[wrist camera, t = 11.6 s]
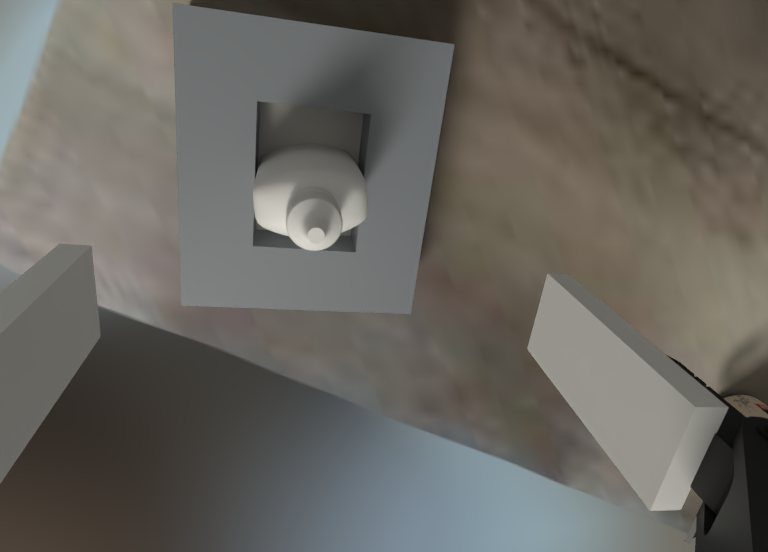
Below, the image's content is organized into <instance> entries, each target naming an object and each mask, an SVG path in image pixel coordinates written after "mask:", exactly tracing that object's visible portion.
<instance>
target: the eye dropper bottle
mask: <svg viewBox="0 0 768 552" xmlns="http://www.w3.org/2000/svg"><path fill="white" fill-rule="evenodd" d="M253 203H254V212H255V218H256V220H257V222H258V224H259V225H261V226H262V227H263V228H266V229H268V230H270V231H273V232H275V233H279V234H282V235H286V236H290V238H291V240H293V242H295V244H297V246H300V247H302V249H304V248H305V250H306V249H307V250H310V251H312V250H313V251H315V250H316V251H318V250H319V251H320V250H323V249H326V248H328V247H330V246H331V245H333V243H335V241H337V239H339V238H338V237H339V236H340V234H341V233H342V232H344V231H347V230H349V229H351V228H353V227H355V226H357V225H359V224H360V223H362V222H363V221H364V220H365V219H366V217H367V214H368V188H367V185H366V182H365V179H364V177H363V175H362V173H361V171H360V169H359V168H358V166H357V164H356V162H355V160H354V159H353V157H352V156H351V155H350V154H349V153H347V152H345V151H343V150H340V149H337V148H334V147H330V146H326V145H320V144H297V145H291V146H286V147H283V148H280V149H277V150H274V151H272V152H270V153H268V154H266V155H264V156H263V157H262V159H261V160H260V163H259V167H258V171H257V174H256V178H255V182H254V187H253Z"/></svg>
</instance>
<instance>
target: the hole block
mask: <svg viewBox="0 0 768 552" xmlns="http://www.w3.org/2000/svg"><path fill="white" fill-rule="evenodd" d="M173 34H174V69H175V104H176V139H177V173H178V208H179V243H180V277H181V305H186V306H212V307H239V308H265V309H292V310H318V311H345V312H371V313H398V314H411V309H412V303H413V296H414V290H415V284H416V278H417V272H418V266H419V260H420V254H421V247H422V241H423V235H424V229H425V223H426V217H427V211H428V204H429V198H430V192H431V186H432V180H433V174H434V168H435V162H436V155H437V149H438V143H439V137H440V131H441V125H442V119H443V112H444V106H445V100H446V94H447V88H448V82H449V76H450V70H451V63H452V57H453V51H454V45H455V44H450V43H443V42H436V41H429V40H422V39H416V38H409V37H402V36H395V35H388V34H382V33H375V32H368V31H361V30H354V29H347V28H341V27H334V26H327V25H320V24H313V23H307V22H300V21H293V20H286V19H279V18H272V17H266V16H259V15H252V14H245V13H238V12H232V11H225V10H218V9H211V8H204V7H197V6H191V5H184V4H177V3H173ZM297 144H320V145H326V146H330V147H334V148H337V149H340V150H343V151H345V152H347V153H349V154H350V155H351V156H352V157H353V159H354V160H355V162H356V164H357V166H358V168H359V169H360V171H361V173H362V175H363V177H364V179H365V182H366V185H367V188H368V214H367V217H366V219H365V220H364V221H363V222H362V223H360V224H359V225H357V226H355V227H353V228H351V229H349V230H347V231H344V232H342V233H341V234H340V236H339V237H338V238H339V239H337V241H335V243H333V245H331V246H330V247H328V248H326V249H323V250H320V251H319V250H318V251H316V250H315V251H313V250H312V251H310V250H307V249H306V250H305V248H304V249H302V247H300V246H297V244H295V242H293V240H291V238H290V236H286V235H282V234H279V233H275V232H273V231H270V230H268V229H266V228H263V227H262V226H261V225H259V224H258V222H257V220H256V218H255V212H254V203H253V187H254V182H255V178H256V174H257V171H258V167H259V163H260V160H261V159H262V157H263V156H264V155H266V154H268V153H270V152H272V151H274V150H277V149H280V148H283V147H286V146H291V145H297Z"/></svg>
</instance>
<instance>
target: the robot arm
mask: <svg viewBox="0 0 768 552" xmlns="http://www.w3.org/2000/svg"><path fill="white" fill-rule="evenodd" d="M99 338H100V326H99V317H98V306H97V296H96V286H95V276H94V266H93V256H92V246H87V245H71V244H59V245H58V246H56V247H55V248H54V249H53V250H52V251H50V252H49V253H48V254H47V255H46V256H44V257H43V258H42V259H41V260H40V261H38V262H37V263H36V264H35V265H34V266H32V267H31V268H30V269H29V270H28V271H26V272H25V273H24V274H23V275H22V276H20V277H19V278H18V279H17V280H15V281H14V282H13V283H12V284H11V285H9V286H8V287H7V288H6V289H5V290H3V291H2V292H1V293H0V483H1V482H2V480H3V479H4V477H5V476H6V474H7V473H8V471H9V470H10V468H11V467H12V466H13V464H14V463H15V461H16V460H17V458H18V457H19V455H20V454H21V452H22V451H23V449H24V448H25V446H26V445H27V444H28V442H29V441H30V439H31V438H32V436H33V435H34V433H35V432H36V430H37V429H38V427H39V426H40V424H41V423H42V422H43V420H44V419H45V417H46V416H47V414H48V413H49V411H50V410H51V408H52V407H53V405H54V404H55V402H56V401H57V399H58V398H59V397H60V395H61V394H62V392H63V391H64V389H65V388H66V386H67V385H68V383H69V382H70V380H71V379H72V377H73V376H74V374H75V373H76V372H77V370H78V368H79V367H80V366H81V364H82V363H83V361H84V360H85V358H86V357H87V355H88V354H89V352H90V351H91V349H92V348H93V347H94V345H95V344H96V342H97V341H98V339H99ZM527 349H528V351H529V352H530V353H531V355H532V356H533V357H534V359H535V360H536V361H537V363H538V364H539V365H540V367H541V368H542V369H543V371H544V372H545V373H546V374H547V376H548V377H549V378H550V380H551V381H552V382H553V384H554V385H555V386H556V388H557V389H558V390H559V392H560V393H561V394H562V396H563V397H564V398H565V399H566V401H567V402H568V403H569V405H570V406H571V407H572V409H573V410H574V411H575V413H576V414H577V415H578V417H579V418H580V419H581V421H582V422H583V423H584V424H585V426H586V427H587V428H588V430H589V431H590V432H591V434H592V435H593V436H594V438H595V439H596V440H597V442H598V443H599V444H600V446H601V447H602V448H603V449H604V451H605V452H606V453H607V455H608V456H609V457H610V459H611V460H612V461H613V463H614V464H615V465H616V467H617V468H618V469H619V471H620V472H621V473H622V475H623V476H624V477H625V478H626V480H627V481H628V482H629V484H630V485H631V486H632V488H633V489H634V490H635V492H636V493H637V494H638V496H639V497H640V498H641V500H642V501H643V502H644V503H645V505H646V506H647V507H648V509H649V510H650V511H661V510H681V508H682V506H683V504H684V502H685V500H686V498H687V496H688V493H689V491H690V489H691V488H692V489H693V490H694V491H695V492H696V493H697V495H698V496H699V497H700V498H701V499H702V500H703V503H702V505H701V507H700V509H699V511H698V513H697V515H696V517H695V519H694V521H693V523H692V525H691V528H690V530H689V532H688V534H687V536H686V539H685V540H684V541H686V542H688V543H690V542H691V540H692V539H693V538H694V537H696V545H695V552H768V419H767V418H763V417H755V416H750V417H745V416H744V415H743V414H742V413H740V412H739V411H738V410H737V409H736V408H734V407H733V406H732V405H731V404H730V403H728V402H727V401H726V400H725V399H724V398H722V397H721V396H720V395H719V394H717V393H716V392H715V391H714V390H713V389H711V388H710V387H706V384H705V383H704V382H703V381H702V380H700V379H699V378H698V377H694V374H693V373H692V372H691V371H690V370H688V369H687V368H686V367H685V366H684V365H682V364H681V363H680V362H678V361H677V360H675V359H673V358H671V357H669V356H667V355H666V354H664V353H663V352H662V351H661V350H659V349H658V348H657V347H656V346H655V345H653V344H652V343H651V342H650V341H649V340H647V339H646V338H645V337H644V336H643V335H642V334H640V333H639V332H638V331H637V330H636V329H634V328H633V327H632V326H631V325H630V324H628V323H627V322H626V321H625V320H624V319H622V318H621V317H620V316H619V315H618V314H616V313H615V312H614V311H613V310H612V309H610V308H609V307H608V306H607V305H606V304H604V303H603V302H602V301H601V300H600V299H598V298H597V297H596V296H595V295H594V294H593V293H591V292H590V291H589V290H588V289H587V288H585V287H584V286H583V285H582V284H581V283H579V282H578V281H577V280H576V279H575V278H573V277H572V276H571V275H567V274H550V273H548V274H547V278H546V281H545V285H544V289H543V293H542V296H541V300H540V304H539V307H538V311H537V315H536V318H535V322H534V326H533V330H532V333H531V337H530V341H529V344H528V348H527Z"/></svg>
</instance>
